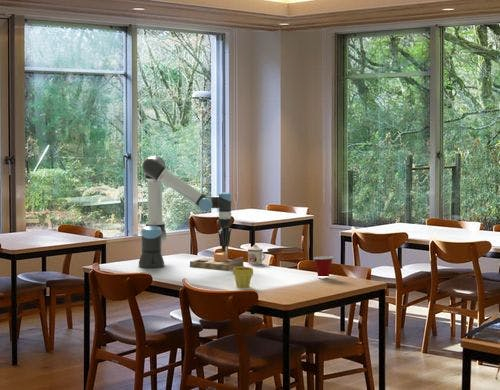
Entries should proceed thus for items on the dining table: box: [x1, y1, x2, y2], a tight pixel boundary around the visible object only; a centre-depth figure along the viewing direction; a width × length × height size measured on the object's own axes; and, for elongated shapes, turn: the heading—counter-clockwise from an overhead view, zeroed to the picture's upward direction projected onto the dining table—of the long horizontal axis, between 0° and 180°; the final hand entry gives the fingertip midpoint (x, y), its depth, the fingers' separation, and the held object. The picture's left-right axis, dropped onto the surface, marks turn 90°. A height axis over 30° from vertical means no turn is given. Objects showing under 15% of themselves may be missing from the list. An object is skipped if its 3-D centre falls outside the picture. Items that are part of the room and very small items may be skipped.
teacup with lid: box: [247, 244, 266, 266], centre depth 557 cm, size 12×9×12 cm
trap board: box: [189, 256, 245, 271], centre depth 547 cm, size 27×17×6 cm, turn 63°
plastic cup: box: [313, 255, 334, 277], centre depth 510 cm, size 11×11×12 cm
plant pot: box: [232, 266, 254, 289], centre depth 481 cm, size 10×10×10 cm
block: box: [213, 252, 229, 261], centre depth 550 cm, size 6×6×4 cm
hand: (224, 257), depth 555 cm, fingers closed
